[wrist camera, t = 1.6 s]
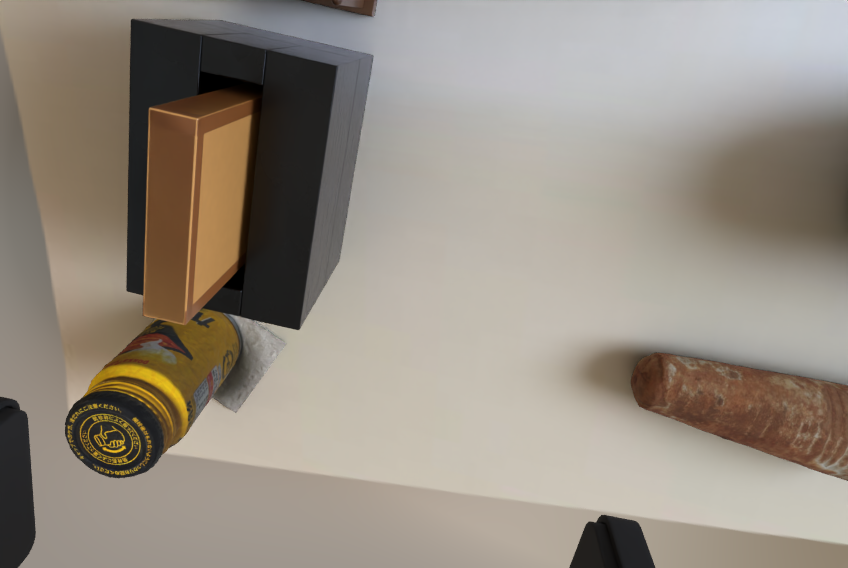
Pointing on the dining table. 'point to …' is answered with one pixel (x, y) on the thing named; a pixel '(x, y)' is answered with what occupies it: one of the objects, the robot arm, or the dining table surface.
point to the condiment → (166, 389)
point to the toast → (198, 197)
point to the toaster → (260, 152)
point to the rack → (350, 5)
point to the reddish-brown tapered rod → (751, 407)
